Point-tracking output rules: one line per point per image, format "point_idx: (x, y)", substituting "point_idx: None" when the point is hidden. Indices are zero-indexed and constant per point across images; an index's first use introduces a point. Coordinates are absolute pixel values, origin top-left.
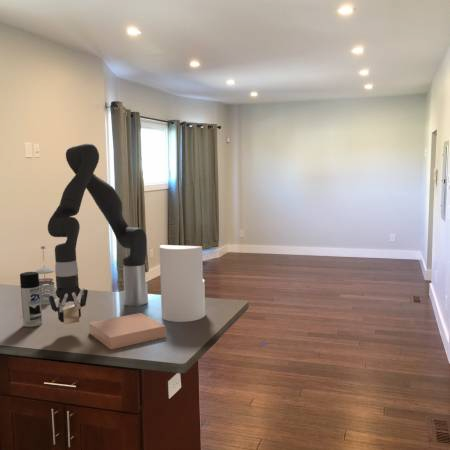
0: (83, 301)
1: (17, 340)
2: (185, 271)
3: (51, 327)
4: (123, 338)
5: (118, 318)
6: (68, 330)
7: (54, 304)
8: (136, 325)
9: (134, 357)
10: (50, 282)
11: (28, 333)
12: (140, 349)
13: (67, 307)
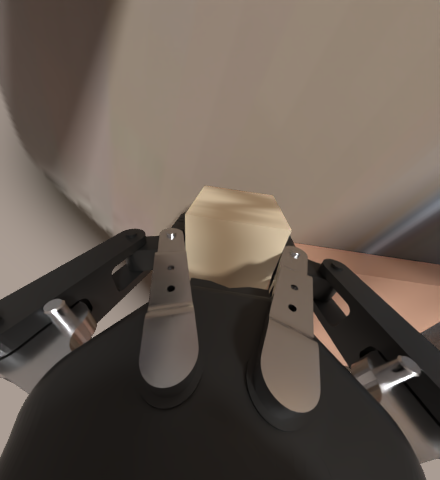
0: (321, 316)
1: (57, 131)
2: None
3: (210, 20)
4: None
5: (375, 290)
6: (247, 158)
7: (113, 298)
8: (333, 343)
9: None
10: None
11: (89, 48)
12: None
13: (225, 250)
